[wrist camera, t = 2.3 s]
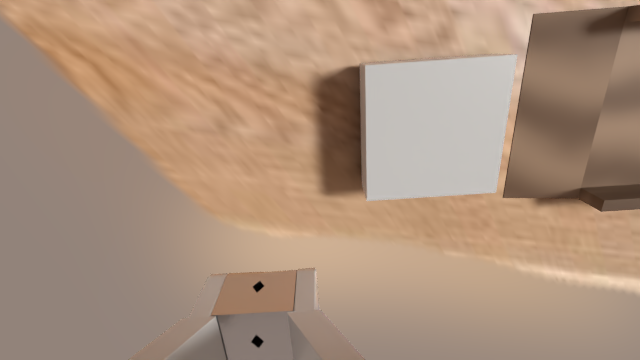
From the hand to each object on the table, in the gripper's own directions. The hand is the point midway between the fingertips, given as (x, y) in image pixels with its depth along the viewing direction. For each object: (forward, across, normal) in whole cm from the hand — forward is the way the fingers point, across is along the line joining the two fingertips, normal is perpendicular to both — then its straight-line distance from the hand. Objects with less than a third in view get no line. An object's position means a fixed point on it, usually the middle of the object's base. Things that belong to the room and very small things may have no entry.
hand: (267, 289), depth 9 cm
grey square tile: (+19, -10, 0) cm, 22 cm away
